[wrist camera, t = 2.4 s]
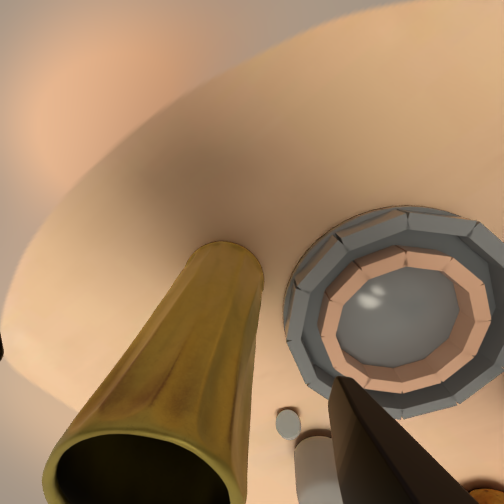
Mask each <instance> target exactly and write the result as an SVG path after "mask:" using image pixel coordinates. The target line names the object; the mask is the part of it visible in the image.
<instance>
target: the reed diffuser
mask: <svg viewBox="0 0 504 504" xmlns="http://www.w3.org/2000/svg"><path fill="white" fill-rule="evenodd" d="M276 429H277V431H278V433H279V434H280V435H281V436H282V437H283V438H284V439H287V440H293V439H295V438H296V437H298V435H299V434H300V431H301V422H300V419H299V417H298V416H297V414H296V413H295V412H294V411H292V410H283V411H281V412H280V413H279V414H278V416H277V418H276ZM294 462H295V477H296V490H297V497H298V502H299V504H343V501H342V497H341V492H340V488H339V483H338V478H337V472H336V465H335V457H334V449H333V442H332V438H329V437H325V436H313V437H309V438H306V439H304V440H303V441H301V442H300V443H299V444H298V445H297V447H296V448H295V451H294Z"/></svg>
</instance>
